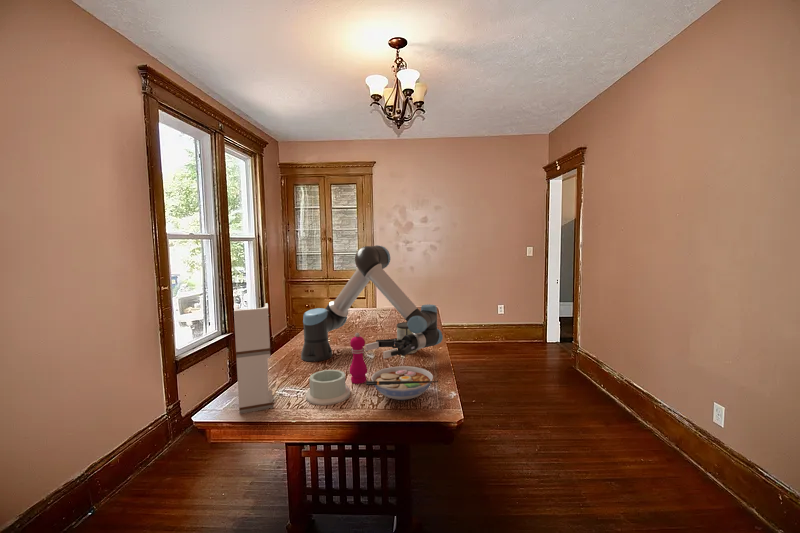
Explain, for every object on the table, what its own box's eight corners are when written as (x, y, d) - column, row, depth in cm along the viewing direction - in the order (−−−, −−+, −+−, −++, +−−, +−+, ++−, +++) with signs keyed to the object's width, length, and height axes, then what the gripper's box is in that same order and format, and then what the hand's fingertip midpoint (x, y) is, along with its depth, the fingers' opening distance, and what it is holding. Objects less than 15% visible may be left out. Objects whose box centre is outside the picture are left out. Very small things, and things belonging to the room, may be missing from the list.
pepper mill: (364, 384, 145) (363, 335, 143) (347, 383, 146) (345, 334, 145) (369, 378, 152) (368, 330, 150) (353, 377, 153) (351, 330, 152)
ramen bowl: (433, 383, 145) (433, 363, 144) (440, 409, 122) (439, 386, 122) (371, 384, 145) (370, 364, 144) (365, 411, 122) (365, 387, 122)
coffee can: (403, 347, 195) (403, 321, 194) (420, 349, 190) (420, 323, 189) (393, 352, 187) (392, 325, 186) (410, 355, 181) (410, 327, 180)
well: (299, 394, 137) (298, 374, 137) (337, 383, 147) (337, 365, 146) (317, 409, 124) (316, 388, 124) (357, 396, 134) (357, 376, 133)
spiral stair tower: (272, 408, 126) (268, 308, 124) (239, 413, 123) (233, 311, 120) (272, 395, 137) (267, 303, 135) (241, 400, 133) (236, 305, 131)
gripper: (432, 356, 156) (392, 367, 143) (397, 344, 176) (359, 353, 163) (431, 339, 155) (391, 349, 142) (396, 328, 175) (358, 336, 162)
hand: (374, 351), depth 153 cm, fingers open, 13 cm apart
